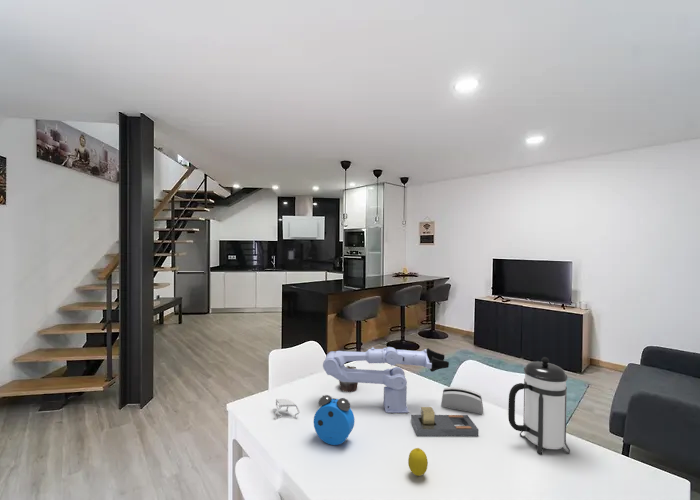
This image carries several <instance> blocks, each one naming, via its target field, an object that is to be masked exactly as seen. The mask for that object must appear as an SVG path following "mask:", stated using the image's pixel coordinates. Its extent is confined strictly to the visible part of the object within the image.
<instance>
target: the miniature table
mask: <svg viewBox="0 0 700 500" xmlns="http://www.w3.org/2000/svg"><path fill="white" fill-rule="evenodd" d="M275 406H276V410H275V412H274V415H277V416H278V417H277V419H280V418H281V417H282V416H283V414H281V413H280V411H281V409H282V408H283V407H286V412H289V407H296V408H295V409H296V410H297V413H295V414H294V419H296V417H297V415H298V414H300V409H299V408H298V406H297V404H296V403H295V402H294V401H292V400H290V399H287V398H276V399H275Z"/></svg>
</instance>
